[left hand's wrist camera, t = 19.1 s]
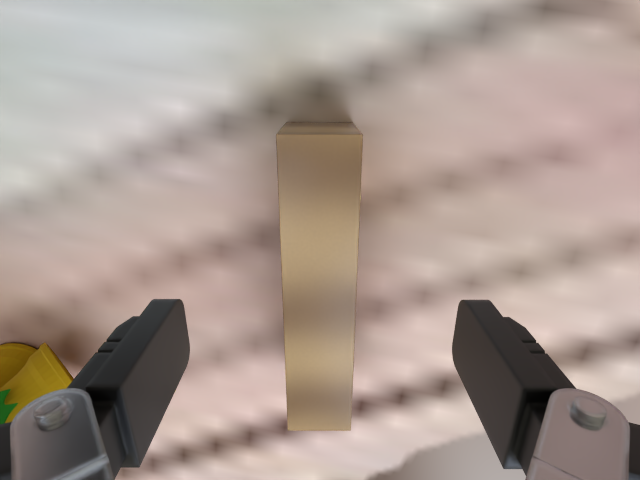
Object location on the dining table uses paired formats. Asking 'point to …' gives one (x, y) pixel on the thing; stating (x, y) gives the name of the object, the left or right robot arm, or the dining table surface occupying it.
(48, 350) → the ornament
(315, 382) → the bar
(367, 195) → the dining table surface
